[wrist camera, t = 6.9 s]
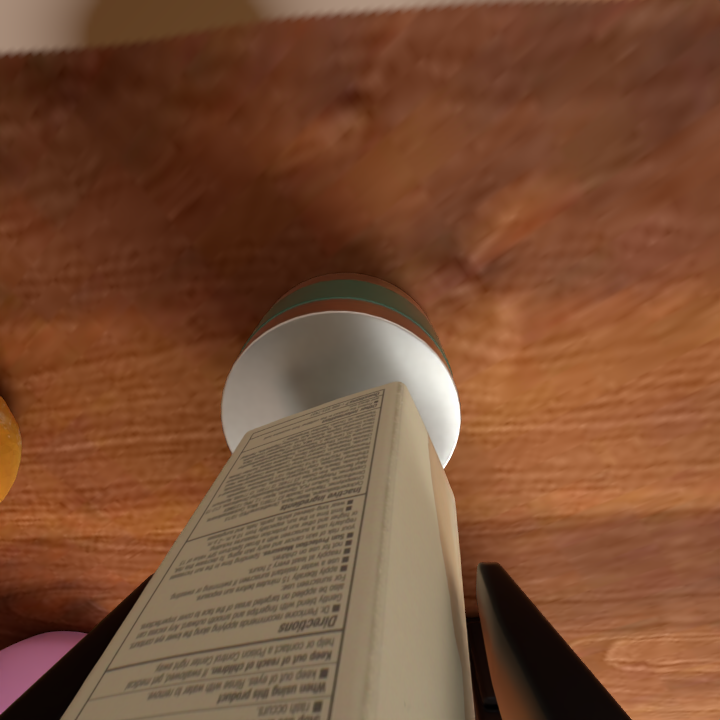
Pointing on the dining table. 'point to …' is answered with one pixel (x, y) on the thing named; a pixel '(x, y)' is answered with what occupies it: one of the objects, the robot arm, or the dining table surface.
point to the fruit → (8, 449)
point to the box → (304, 584)
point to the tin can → (340, 357)
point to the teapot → (31, 662)
